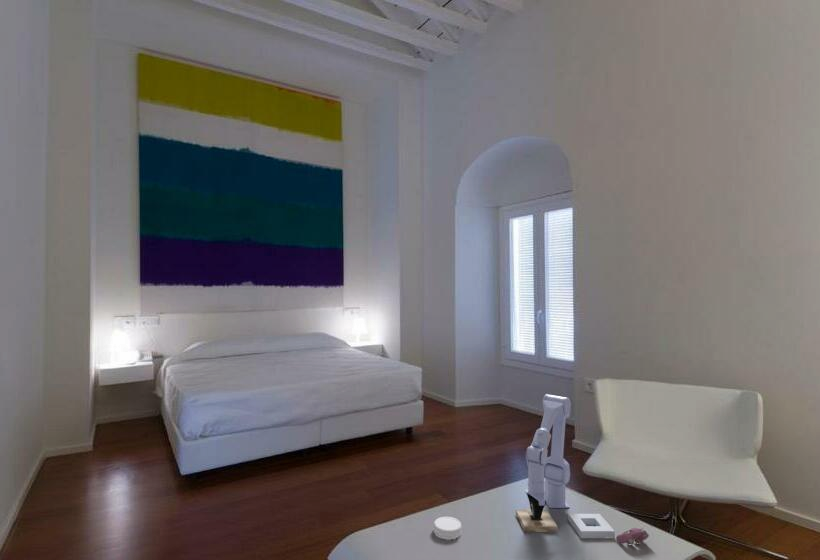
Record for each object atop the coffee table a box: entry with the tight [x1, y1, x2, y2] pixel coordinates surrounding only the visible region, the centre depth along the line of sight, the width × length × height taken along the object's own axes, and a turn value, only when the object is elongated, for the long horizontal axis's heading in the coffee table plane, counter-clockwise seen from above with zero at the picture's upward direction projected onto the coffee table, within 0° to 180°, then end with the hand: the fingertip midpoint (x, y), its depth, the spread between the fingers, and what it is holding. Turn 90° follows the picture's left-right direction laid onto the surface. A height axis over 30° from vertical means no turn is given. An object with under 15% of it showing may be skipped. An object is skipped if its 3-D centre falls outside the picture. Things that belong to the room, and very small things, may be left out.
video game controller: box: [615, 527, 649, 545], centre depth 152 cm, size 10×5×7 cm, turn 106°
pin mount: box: [515, 509, 559, 533], centre depth 164 cm, size 12×12×2 cm
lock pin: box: [531, 503, 540, 521], centre depth 165 cm, size 4×4×7 cm
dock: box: [567, 513, 616, 539], centre depth 161 cm, size 12×12×2 cm
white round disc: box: [433, 516, 462, 541], centre depth 158 cm, size 10×10×4 cm
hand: (536, 515), depth 165 cm, fingers closed on lock pin, 3 cm apart
